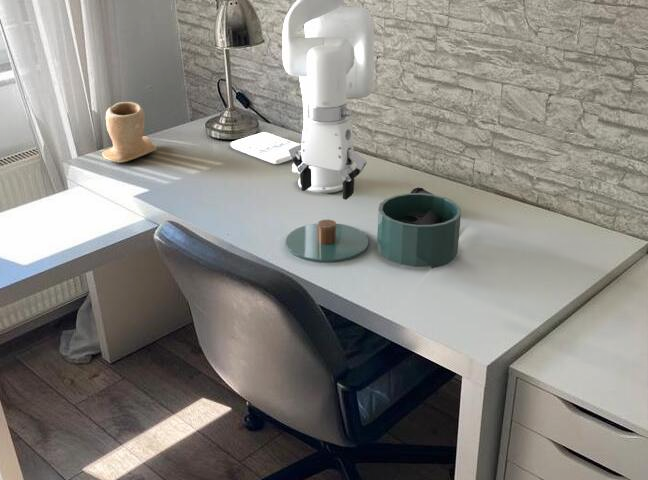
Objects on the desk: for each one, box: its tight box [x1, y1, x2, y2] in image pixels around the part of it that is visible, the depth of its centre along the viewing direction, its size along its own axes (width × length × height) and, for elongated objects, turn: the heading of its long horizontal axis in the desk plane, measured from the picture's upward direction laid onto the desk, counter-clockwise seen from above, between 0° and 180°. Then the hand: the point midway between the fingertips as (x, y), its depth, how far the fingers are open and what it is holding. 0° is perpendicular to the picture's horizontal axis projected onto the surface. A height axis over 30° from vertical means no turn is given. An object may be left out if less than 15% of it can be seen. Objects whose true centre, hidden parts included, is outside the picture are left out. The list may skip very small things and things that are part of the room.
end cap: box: [401, 210, 442, 225], centre depth 167 cm, size 10×7×7 cm
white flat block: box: [230, 131, 302, 165], centre depth 222 cm, size 13×20×2 cm, turn 44°
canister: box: [376, 192, 462, 269], centre depth 166 cm, size 17×17×10 cm
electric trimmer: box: [410, 187, 435, 195], centre depth 187 cm, size 4×16×3 cm, turn 35°
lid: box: [284, 219, 369, 263], centre depth 170 cm, size 18×18×5 cm
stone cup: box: [101, 101, 157, 163], centre depth 215 cm, size 15×12×15 cm
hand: (326, 192), depth 165 cm, fingers open, 9 cm apart
